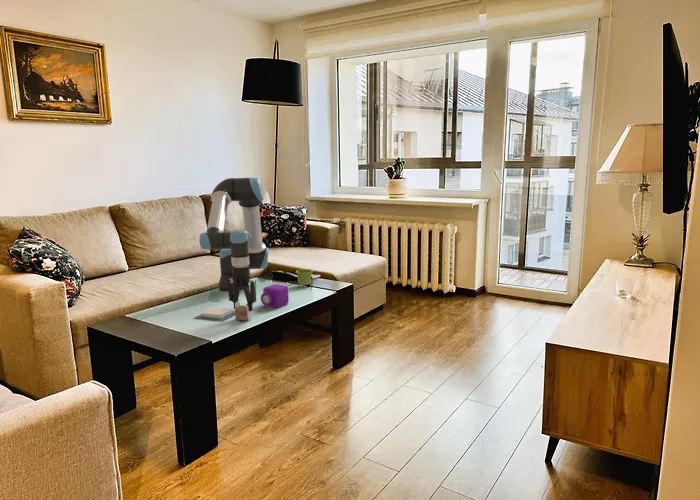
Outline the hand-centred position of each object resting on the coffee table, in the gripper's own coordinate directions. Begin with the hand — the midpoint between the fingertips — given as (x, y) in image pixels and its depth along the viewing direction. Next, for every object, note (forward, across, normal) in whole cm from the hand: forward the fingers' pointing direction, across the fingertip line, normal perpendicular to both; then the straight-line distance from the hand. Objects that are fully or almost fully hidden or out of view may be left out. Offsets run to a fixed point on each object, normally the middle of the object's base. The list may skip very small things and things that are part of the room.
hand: (243, 317), depth 217 cm
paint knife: (+3, -10, +75) cm, 75 cm away
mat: (+1, -15, +2) cm, 15 cm away
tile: (0, -20, +2) cm, 20 cm away
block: (+1, 0, 0) cm, 1 cm away
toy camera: (+2, +2, +24) cm, 24 cm away
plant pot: (+2, -1, +64) cm, 64 cm away
